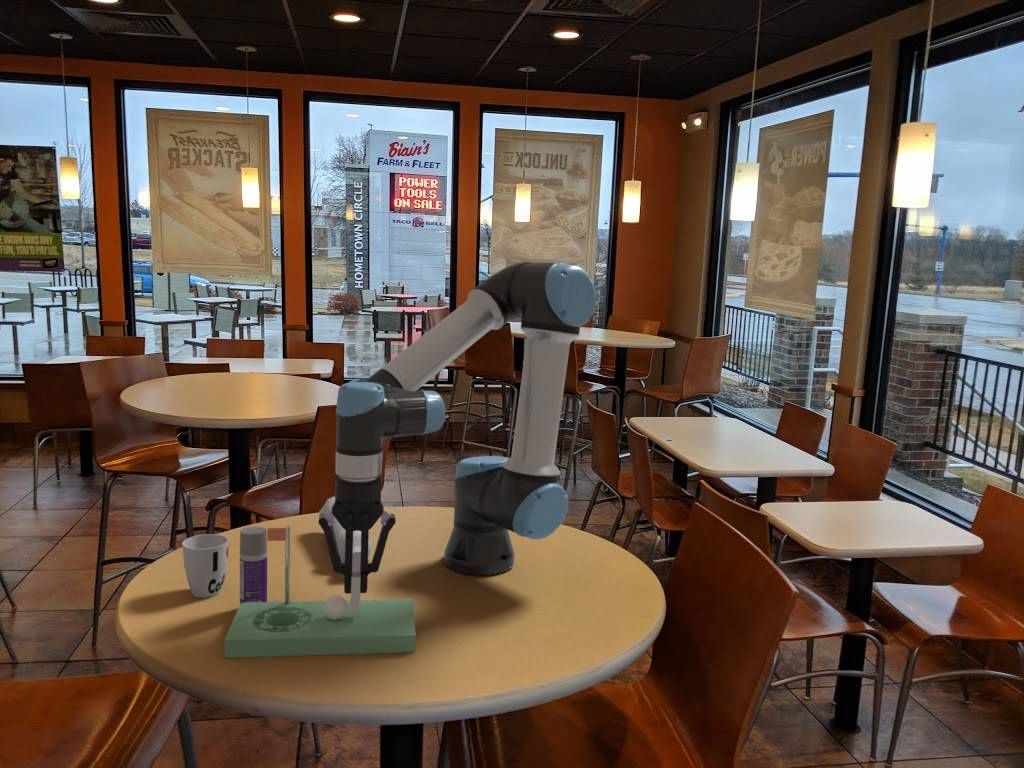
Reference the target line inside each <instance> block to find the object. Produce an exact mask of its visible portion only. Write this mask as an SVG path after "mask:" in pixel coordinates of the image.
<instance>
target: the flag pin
mask: <svg viewBox="0 0 1024 768" xmlns="http://www.w3.org/2000/svg"><path fill="white" fill-rule="evenodd" d="M266 530H267V542H272V541H273V542H285V543H284V544H285V547H284V550H285V551H284V552H285V553H284V556H285V557H284V559H285V560H284V561H285V562H284V563H285V564H284V602H285V604H286V605H288V604H290V602H291V600H290V599H291V598H290V597H291V593H290V592H291V526H290V525H287V526H285V527H267V528H266Z"/></svg>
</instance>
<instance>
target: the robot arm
mask: <svg viewBox="0 0 1024 768" xmlns="http://www.w3.org/2000/svg"><path fill="white" fill-rule="evenodd" d="M590 277H591V276H590V275H589V274H588V272H587V271H586V270H585V269H583V268H581V267H580V266H578V265H573V264H568V263H565V262H564V263H560V262H532V261H531V262H530V261H523V262H517V263H514V264H511V265H508V266H506V267H504V268H502V269H501V270H499V271H497V272H495V273H494V274H492V275H491V276H489V277H488V278H487V279H485V280H483V281H482V282H480V283H479V284H478V285H477V286H476V287H475V288H473V289H472V290H470V291H469V292H468V294H467V300H466V301H465V302H463V303H462V304H461V305H460V306H458V307H457V308H455V310H453V311H452V312H451V313H450V314H448V315H447V316H445V317H444V318H443V319H442V320H441V321H439V322H437V324H436V325H435V326H433V327H432V328H430V329H429V330H428V331H427V332H426V333H423V335H421V336H420V337H418V338H417V340H415V341H414V342H413V343H412V344H410V345H409V346H408V347H406V348H405V349H404V350H402V351H401V352H400V353H399V354H397V355H396V356H395V357H394V358H392V359H391V360H390V361H389V362H387V363H386V364H385V365H383V366H382V367H381V368H380V369H379V370H377V371H376V372H375V373H374V374H372V375H370V376H369V377H368V378H365V377H363V378H360V377H358V378H354V379H352V380H350V381H349V382H346V383H343V384H342V385H341V386H339V389H338V391H337V396H336V397H337V398H336V408H335V414H336V430H335V431H336V438H335V439H336V440H335V441H336V444H335V445H336V446H335V447H336V448H335V474H336V475H337V477H335V481H334V484H335V487H334V496H335V503H334V504H333V506H332V510H331V511H330V512H328V513H326V514H321V515H320V517H319V516H318V525H319V526H320V527H321V529H322V531H323V533H324V532H325V533H324V535H325V536H324V537H325V539H326V544H327V548H328V553H329V557H330V561H331V565H332V568H333V569H332V570H333V571H334V573H336V574H342V575H343V577H344V581H343V582H344V587H343V588H344V589H343V591H344V594H350V600H351V614H360V600H361V594H367V591H368V579H369V578H368V576H369V575H370V574H372V573H377V572H379V568H380V565H381V562H382V558H383V555H384V552H385V549H386V545H387V541H388V537H389V534H390V531H392V529H393V527H394V526H395V524H396V521H397V520H396V515H395V514H394V513H389V512H387V511H386V510H385V509H384V505H383V504H382V478H381V476H380V475H381V474H382V472H383V471H382V469H383V468H382V466H383V465H382V464H383V442H384V439H391V438H398V437H408V436H417V435H421V436H424V435H425V434H431V433H435V432H437V431H439V430H440V429H441V428H443V426H444V423H445V420H446V405H445V401H444V399H443V398H442V397H443V396H441V395H440V394H439V393H438V392H437V391H434V390H424V389H420V388H422V387H423V386H424V385H425V384H426V383H428V382H429V381H430V380H431V379H433V378H434V377H435V376H436V375H437V374H438V373H440V372H441V371H442V370H444V368H446V367H447V366H448V365H449V364H451V363H452V362H453V361H454V360H456V359H457V358H458V357H459V356H460V355H461V354H463V353H464V352H465V351H467V349H469V348H470V347H472V345H474V344H475V343H476V342H477V341H479V340H480V339H481V338H482V337H484V336H485V335H486V334H487V333H489V332H490V331H491V330H494V331H498V330H499V329H502V328H503V326H504V325H506V324H508V323H509V322H512V321H517V320H521V322H520V323H521V324H520V330H521V331H522V332H523V334H524V335H525V336H526V343H525V344H526V345H525V351H524V358H523V365H522V373H521V382H520V388H519V395H518V401H517V402H518V404H517V410H516V411H517V412H516V417H515V424H514V426H515V427H514V433H513V441H512V449H511V455H510V457H506V456H500V455H498V456H497V455H487V456H486V455H485V456H483V455H482V456H473V457H467V458H464V459H461V460H459V462H458V463H456V464H457V465H456V468H455V475H454V497H453V498H454V502H453V503H454V505H453V509H454V510H453V527H452V530H451V533H450V536H449V538H448V540H447V543H446V546H445V548H444V553H443V554H444V556H443V559H444V560H443V563H444V565H445V566H446V567H447V568H449V569H451V570H452V571H454V572H456V573H461V574H466V575H471V576H489V575H488V574H494V575H496V574H495V573H499V572H502V571H505V570H507V569H509V568H510V567H512V566H513V564H514V565H515V555H516V554H515V551H514V547H513V543H512V539H511V536H510V533H509V531H510V532H512V533H515V534H516V535H518V536H520V537H523V538H528V539H531V540H541V539H545V538H548V537H549V536H550V535H552V534H553V533H555V531H556V530H557V529H558V528H560V527H561V525H562V524H563V521H564V520H565V517H566V515H567V512H568V508H569V497H568V494H567V491H566V490H565V489H564V487H562V486H561V485H560V484H559V483H560V475H561V471H560V470H559V468H558V466H556V464H555V456H556V449H557V444H558V443H557V442H558V434H559V427H560V422H561V412H562V405H563V397H564V391H565V382H566V376H567V370H568V369H567V368H568V363H569V362H568V361H569V354H570V346H571V343H572V342H574V341H575V340H576V339H578V337H580V331H581V327H582V326H585V325H586V324H587V323H589V321H590V318H592V317H593V316H594V313H595V310H596V306H597V291H596V287H595V284H594V282H593V280H592V279H591V278H590ZM419 389H420V390H419ZM334 517H335V518H336V519H337V521H338V522H339V523H340V525H341V526H342V527H343V528H344V529H345V564H344V563H341V559H340V554H339V550H338V546H337V542H336V538H335V533H334V529H333V526H332V525H333V523H334V519H333V518H334ZM379 519H380V524H381V529H380V532H379V535H378V538H377V539H378V540H377V542H376V547H375V549H374V553H373V556H372V560H371V562H369V563H368V559H369V556H368V540H369V541H370V536H369V533H370V529H372V528H373V527H374V525H376V523H377V522H378V520H379ZM353 531H361V564H360V571H352V562H353ZM513 567H514V566H513ZM513 567H512V568H513ZM499 574H500V573H499Z"/></svg>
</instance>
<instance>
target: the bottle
mask: <svg viewBox="0 0 1024 768" xmlns="http://www.w3.org/2000/svg"><path fill="white" fill-rule="evenodd" d="M334 503H335V495H334V496H332V497H329V498H328V499H327V500H326V501H325V503H324V504H323V506H322V507H321V508H320V510H319V511H318V518H319V517H320V515H321V514H326V513H328V512H330V511H331V510H332V506H333V504H334ZM333 519H334V523H333V525H332V526H333V529H334V533H335V538H336V542H337V546H338V550H339V554H340V559H341V563H344V564H345V529H344V528H343V527H342V526H341V525H340V523H339V522H338V521H337V519H336V518H335V517H334V518H333ZM323 533H324V534H325V532H324V531H323ZM371 551H372V543H371V541H370V539H369V540H368V557H369V555H370V554H371ZM369 560H370V559H369V558H368V564H369V563H370V562H369ZM360 564H361V531H353V562H352V571H360Z"/></svg>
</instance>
